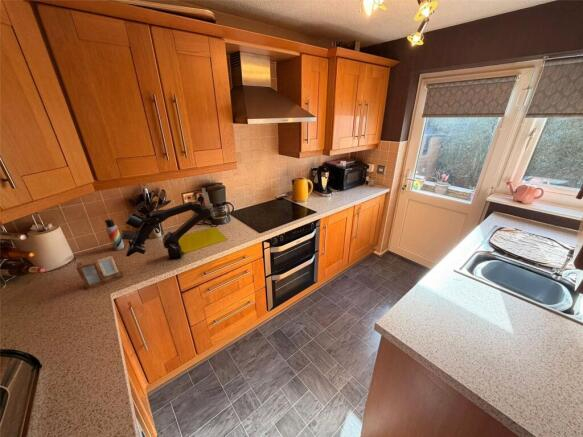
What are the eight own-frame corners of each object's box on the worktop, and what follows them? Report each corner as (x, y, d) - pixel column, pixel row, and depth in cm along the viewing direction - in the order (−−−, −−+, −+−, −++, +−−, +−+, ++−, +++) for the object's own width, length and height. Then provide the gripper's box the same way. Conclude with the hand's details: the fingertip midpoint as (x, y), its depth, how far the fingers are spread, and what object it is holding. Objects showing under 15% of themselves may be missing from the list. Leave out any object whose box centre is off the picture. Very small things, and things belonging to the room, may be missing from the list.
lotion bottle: (112, 250, 143) (100, 222, 134) (115, 246, 148) (104, 218, 139) (122, 249, 144) (111, 220, 135) (125, 244, 149) (115, 217, 140)
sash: (118, 271, 122) (111, 255, 118) (118, 272, 122) (111, 256, 117) (104, 275, 119) (97, 259, 115) (104, 276, 118) (97, 261, 114)
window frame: (120, 272, 124) (112, 252, 118) (121, 277, 120) (112, 257, 115) (87, 283, 116) (76, 263, 111) (86, 289, 113) (76, 268, 107)
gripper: (127, 219, 124) (109, 243, 123) (131, 232, 111) (111, 259, 110) (147, 227, 132) (130, 250, 131) (153, 241, 119) (135, 266, 117)
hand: (126, 256), depth 122 cm, fingers closed
